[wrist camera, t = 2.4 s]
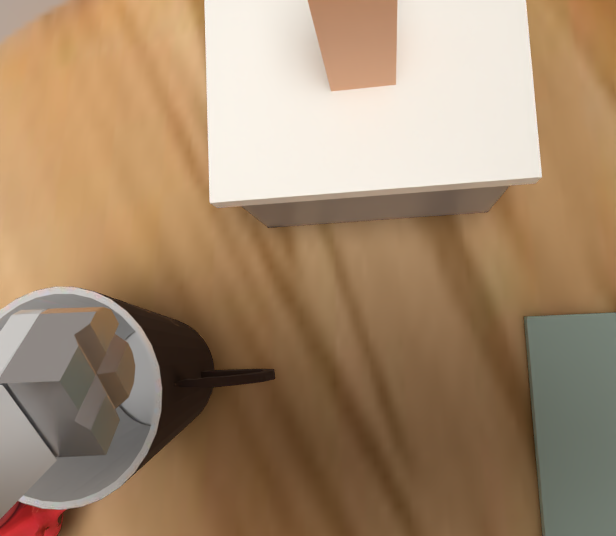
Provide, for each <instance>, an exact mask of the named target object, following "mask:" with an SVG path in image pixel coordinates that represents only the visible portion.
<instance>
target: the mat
mask: <svg viewBox="0 0 616 536" xmlns="http://www.w3.org/2000/svg"><path fill="white" fill-rule="evenodd" d="M524 324H525V336H526V348H527V359H528V371H529V383H530V394H531V406H532V418H533V430H534V441H535V453H536V465H537V477H538V488H539V500H540V512H541V523H542V535H543V536H616V313H595V314H573V315H551V316H529V317H524Z"/></svg>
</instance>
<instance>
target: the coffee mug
mask: <svg viewBox="0 0 616 536" xmlns="http://www.w3.org/2000/svg"><path fill="white" fill-rule="evenodd" d="M85 307H105V308H108V309H111V310H112V312H113V314H114V315H115V317H116V319H117V321H118V323H119V325H118V327H117V330H116V332H115V334H116V335H118V336H119V337H120V338H122V339H123V340H125V341H126V342H128V344H129V346H130V348H131V350H132V352H133V356H134V361H135V378H134V385H133V387H132V390H131V393H130V396H129V398H128V399H126V400H125V401H124V402H123V403H122V404H121V405H120V406H118V407H117V408H116V411H117V414H118V416H119V419H120V421H119V424H118V426H117V429H116V431H115V434H114V437H113V439H112V442H111V444H110V447H109V449H108V452H107V454H106V455H98V456H76V457H56V459H57V461H56V462H55V463H54V464H53V465H52V466H51V467H50V468H49V469H48V470H47V471H46V472H45V473H44V474H43V475H42V476H41V477H40V478H39V479H38V480H37V481H36V483H35V484H34V485H33V486H32V487H31V488H30V489H29V490H28V491H27V492H26V493H25V494H24V495H23V496H22V497H21V498H20V499H19V500H18V501H19V502H21V503H24V504H27V505H31V506H34V507H38V508H41V509H55V510H64V509H71V508H77V507H83V506H85V505H88V504H90V503H93V502H96V501H98V500H101V499H103V498H104V497H106V496H107V495H109V494H110V493H112V492H113V491H115V490H116V489H118V488H119V487H120V486H122V485H123V484H124V483H125V482H126V481H127V480H128V479H129V478H130V477H131V476H133V475H134V474H135V473H136V472H137V471H138V470H139V469H140V468H141V467H142V466H143V465H145V464H146V463H147V462H148V461H149V460H150V459H151V458H152V457H153V456H154V455H156V454H157V453H158V452H159V451H160V450H161V449H162V448H163V447H164V446H165V445H166V444H168V443H169V442H170V441H171V440H172V439H173V438H174V437H175V436H176V435H177V434H178V433H180V432H181V431H182V430H183V429H184V428H185V427H186V426H187V425H188V424H189V423H191V422H192V421H193V420H194V419H195V418H196V417H197V416H198V415H199V414H200V413H201V411H202V410H203V409H204V407H205V406H206V404H207V402H208V400H209V398H210V395H211V393H212V388H213V387H221V386H231V385H241V384H250V383H257V382H264V381H268V380H272V379H275V372H274V369H235V370H214V365H213V359H212V356H211V354H210V351H209V348H208V347H207V345H206V343H205V342H204V340H203V339H202V338H201V336H200V335H199V334H198V333H197V332H196V331H195V330H193V329H192V328H191V327H189V326H188V325H186V324H184V323H182V322H179V321H177V320H174V319H171V318H169V317H166V316H163V315H160V314H157V313H154V312H151V311H149V310H146V309H143V308H140V307H137V306H134V305H131V304H129V303H126V302H123V301H120V300H117V299H114V298H111V297H109V296H106V295H103V294H100V293H97V292H94V291H90V290H86V289H82V288H77V287H51V288H46V289H41V290H36V291H33V292H31V293H29V294H26V295H24V296H22V297H19V298H17V299H16V300H14V301H13V302H11V303H10V304H8V305H7V306H5V307H4V308H3V309H1V310H0V331H1V330H2V328H3V327H4V325H5V324H6V322H7V321H8V319H9V318H10V317H11V315H13V314H14V313H16V312H18V311H20V310H42V309H46V310H47V309H53V308H85Z"/></svg>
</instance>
